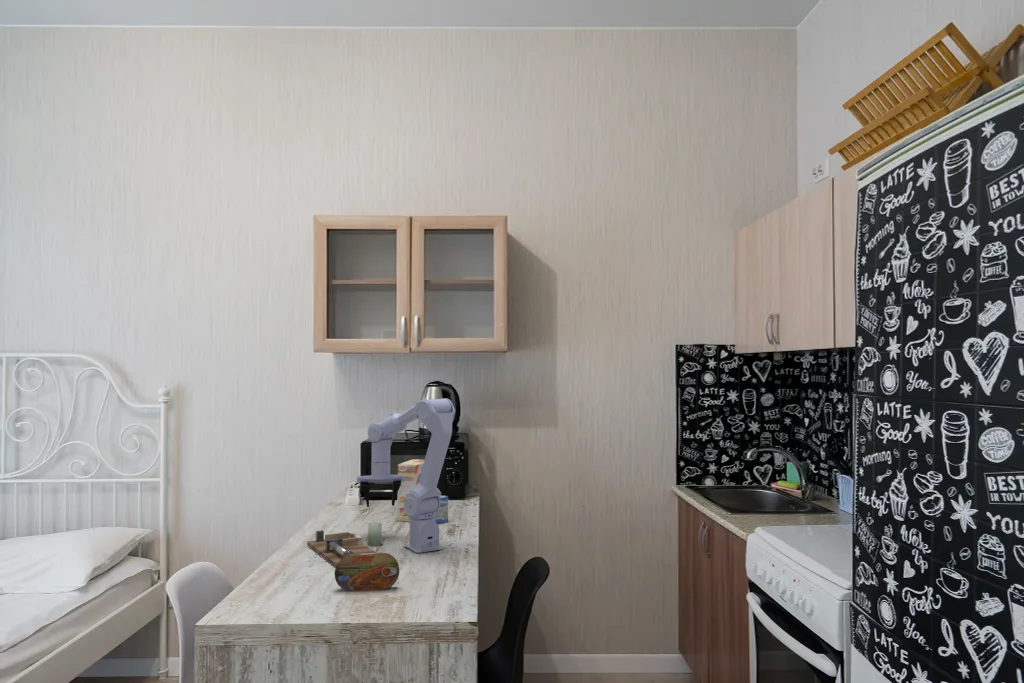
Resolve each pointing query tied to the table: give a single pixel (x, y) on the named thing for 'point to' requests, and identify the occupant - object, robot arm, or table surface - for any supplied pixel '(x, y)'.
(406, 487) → the coffeecake box
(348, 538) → the walnut base with seat
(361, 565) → the tin
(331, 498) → the table surface
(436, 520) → the medicine box
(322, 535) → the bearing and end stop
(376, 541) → the cylinder
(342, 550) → the steel shaft
